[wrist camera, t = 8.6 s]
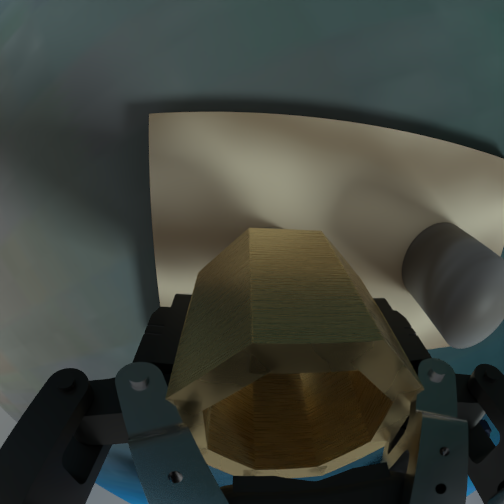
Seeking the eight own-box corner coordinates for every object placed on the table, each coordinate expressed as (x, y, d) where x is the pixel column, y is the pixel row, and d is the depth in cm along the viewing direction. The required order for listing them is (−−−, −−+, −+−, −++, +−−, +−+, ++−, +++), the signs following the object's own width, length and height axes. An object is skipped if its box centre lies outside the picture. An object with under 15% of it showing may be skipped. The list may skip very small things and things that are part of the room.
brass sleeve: (196, 225, 11) (151, 336, 5) (367, 232, 11) (453, 332, 6) (203, 357, 13) (186, 475, 8) (338, 358, 14) (371, 467, 8)
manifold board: (157, 113, 14) (102, 114, 8) (507, 160, 15) (575, 186, 9) (171, 338, 20) (150, 415, 14) (456, 332, 21) (495, 386, 15)
